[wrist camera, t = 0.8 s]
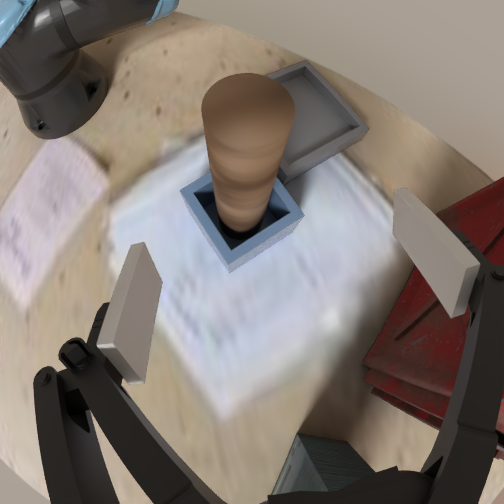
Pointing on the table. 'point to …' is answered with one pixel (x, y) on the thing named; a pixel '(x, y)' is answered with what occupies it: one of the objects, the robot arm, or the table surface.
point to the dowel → (245, 146)
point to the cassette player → (320, 466)
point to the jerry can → (435, 324)
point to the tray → (315, 121)
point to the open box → (241, 251)
